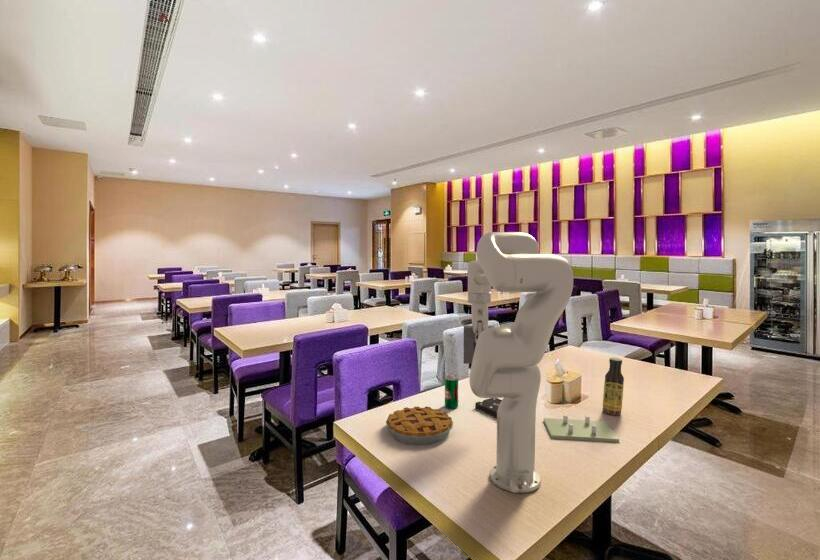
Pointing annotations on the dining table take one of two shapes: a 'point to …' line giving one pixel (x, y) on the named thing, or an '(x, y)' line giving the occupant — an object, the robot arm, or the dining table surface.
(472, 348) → the dark grey thick block
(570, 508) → the dining table surface
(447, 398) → the soda can
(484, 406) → the disk drive
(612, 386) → the sauce bottle
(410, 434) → the pie
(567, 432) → the dock
